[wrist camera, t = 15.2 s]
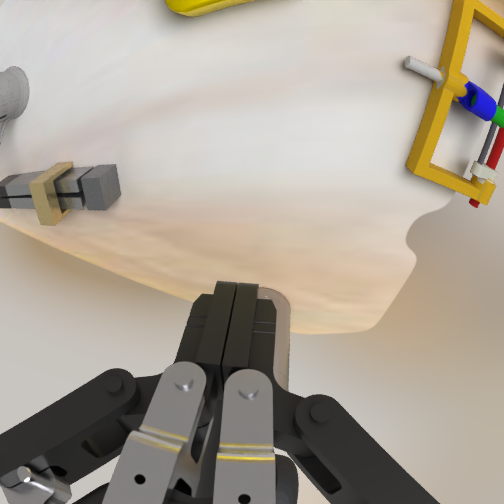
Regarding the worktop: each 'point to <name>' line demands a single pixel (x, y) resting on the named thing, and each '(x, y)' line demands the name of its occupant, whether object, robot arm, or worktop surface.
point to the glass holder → (12, 94)
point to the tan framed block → (48, 195)
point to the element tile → (200, 6)
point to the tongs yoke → (101, 187)
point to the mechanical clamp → (469, 95)
